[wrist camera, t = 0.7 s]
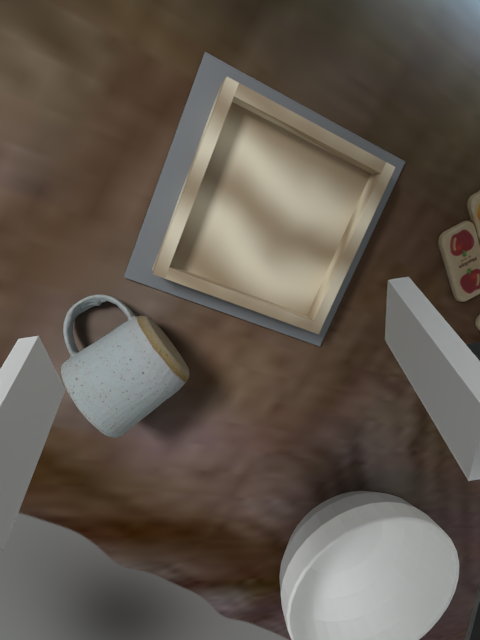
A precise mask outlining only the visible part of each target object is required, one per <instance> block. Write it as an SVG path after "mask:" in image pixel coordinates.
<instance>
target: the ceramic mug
mask: <svg viewBox="0 0 480 640" xmlns="http://www.w3.org/2000/svg"><path fill="white" fill-rule="evenodd" d="M106 301H109V302H111V303H113V304H116V305H117V306H118V307H119V308H120V309H121V310H122V311H123V312H124V313H125V314H126V315H127V317H128V321H126V322H125V323H123V324H122V325H120V326H119V327H117V328H116V329H114V330H113V331H111V332H110V333H109V334H107V335H106V336H104V337H102V338H101V339H99V340H97V341H96V342H94V343H93V344H91V345H89V346H88V347H86V348H85V349H83V350H82V351H80V352H79V351H78V349H77V347H76V344H75V342H74V337H73V323H74V320H75V318H76V317H77V316H78V315H79V314H80V313H82V312H84V311H86V310H87V309H89V308H91V307H93V306H100V305H101V304H102V302H106ZM63 328H64V330H63V333H64V339H65V343H66V346H67V349H68V351H69V353H70V355H71V357H70V358H69V359H68V360H67V361H65V362H64V363H63V364H62V367H61V375H62V379H63V382H64V384H65V387H66V389H67V391H68V393H69V395H70V396H71V398H72V399H73V401H74V403H75V405H76V406H77V407H78V409H79V410H80V412H81V413H82V414H83V415H84V416H85V417H86V419H87V420H88V421H89V422H90V423H91V424H92V425H94V426H95V427H96V428H97V429H98V430H99V431H100V432H102V433H103V434H105V435H107V436H109V437H113V438H117V437H120V436H122V435H123V434H124V433H125V432H127V431H128V430H129V429H130V428H132V427H133V426H134V425H135V424H137V423H138V422H139V421H140V420H142V419H143V418H144V417H146V416H147V415H148V414H149V413H151V412H152V411H153V410H154V409H155V408H157V407H158V406H159V405H161V404H162V403H163V402H164V401H165V400H167V399H168V398H170V397H171V396H172V395H173V394H175V393H176V392H177V391H178V390H179V389H180V388H181V387H182V386H183V385H184V384H185V383H186V382H187V380H188V378H189V369H188V367H187V365H186V363H185V361H184V360H183V358H182V357H181V355H180V354H179V352H178V351H177V349H176V348H175V346H174V345H173V344H172V342H171V341H170V340H169V338H168V337H167V336H166V334H165V333H164V332H163V331H162V330H161V328H160V327H159V326H158V325H157V324H156V323H155V322H154V321H153V320H152V319H151V318H149V317H147V316H138V317H135V316H134V314H133V313H132V311H131V310H130V309H129V308H128V307H127V306H126V305H125V304H124V303H122V302H121V301H120V300H118V299H116V298H114V297H111V296H108V295H92V296H88V297H86V298H84V299H82V300H80V301H78V302H77V303H76V304H75V305H73V306H72V307H71V308H70V309H69V311H68V313H67V314H66V317H65V321H64V326H63Z"/></svg>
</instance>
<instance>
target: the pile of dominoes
mask: <svg viewBox="0 0 480 640" xmlns="http://www.w3.org/2000/svg"><path fill="white" fill-rule="evenodd" d="M467 208H468V212H469V215H470V221H463V222H461V223H459V224H457V225H455V226H453V227H451V228H450V229H448V230H446V231H444V232H443V233H442V234H441V235H440V237H439V240H438V245H439V248H440V252H441V255H442V258H443V262H444V265H445V268H446V272H447V275H448V279H449V282H450V285H451V289H452V292H453V295H454V298H455V299H456V300H457V301H460V302H465V301H467V300H469V299H471V298H473V297H475V296H476V295H478V294H480V191H478V192H476V193H475V194H473V195H471V196H470V198H469V199H468V202H467ZM475 326H476V328H477V329H478V330H479V331H480V314H479V315H478V317H477V318H476V321H475Z"/></svg>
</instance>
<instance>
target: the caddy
mask: <svg viewBox="0 0 480 640" xmlns="http://www.w3.org/2000/svg"><path fill="white" fill-rule="evenodd" d="M394 169H395V166H393V165H391V164H389V163H387V162H385V161H383V160H381V159H380V158H378V157H376V156H374V155H372V154H370V153H368V152H367V151H365V150H363V149H361V148H359V147H357V146H355V145H354V144H352V143H350V142H348V141H346V140H344V139H342V138H341V137H339V136H337V135H335V134H333V133H331V132H329V131H328V130H326V129H324V128H322V127H320V126H318V125H316V124H315V123H313V122H311V121H309V120H307V119H305V118H303V117H302V116H300V115H298V114H296V113H294V112H292V111H290V110H289V109H287V108H285V107H283V106H281V105H279V104H277V103H276V102H274V101H272V100H270V99H268V98H266V97H264V96H262V95H261V94H259V93H257V92H255V91H253V90H251V89H249V88H248V87H246V86H244V85H242V84H240V83H238V82H236V81H235V80H233V79H231V78H229V77H226V78H225V80H224V81H223V82H222V83H221V86H220V88H219V91H218V94H217V96H216V99H215V102H214V104H213V107H212V110H211V113H210V115H209V118H208V121H207V123H206V126H205V129H204V131H203V134H202V137H201V139H200V142H199V145H198V148H197V150H196V153H195V156H194V158H193V161H192V164H191V166H190V169H189V172H188V174H187V177H186V180H185V183H184V185H183V188H182V191H181V193H180V196H179V199H178V201H177V204H176V207H175V209H174V212H173V215H172V217H171V220H170V223H169V226H168V228H167V231H166V234H165V236H164V239H163V242H162V244H161V247H160V250H159V252H158V255H157V258H156V261H155V263H154V266H153V269H152V271H153V274H154V275H156V276H159V277H162V278H165V279H167V280H170V281H173V282H176V283H178V284H181V285H184V286H187V287H189V288H192V289H195V290H198V291H201V292H203V293H206V294H209V295H212V296H214V297H217V298H220V299H223V300H225V301H228V302H231V303H234V304H236V305H239V306H242V307H245V308H247V309H250V310H253V311H256V312H258V313H261V314H264V315H267V316H269V317H272V318H275V319H278V320H280V321H283V322H286V323H289V324H291V325H294V326H297V327H300V328H302V329H305V330H308V331H311V332H313V333H316V334H319V332H320V330H321V328H322V326H323V324H324V321H325V319H326V317H327V315H328V313H329V311H330V308H331V306H332V304H333V302H334V300H335V297H336V295H337V293H338V291H339V289H340V287H341V284H342V282H343V280H344V278H345V276H346V274H347V271H348V269H349V267H350V265H351V263H352V261H353V258H354V256H355V254H356V252H357V250H358V248H359V245H360V243H361V241H362V239H363V237H364V235H365V232H366V230H367V228H368V226H369V224H370V221H371V219H372V217H373V215H374V213H375V211H376V208H377V206H378V204H379V202H380V200H381V198H382V195H383V193H384V191H385V189H386V187H387V185H388V182H389V180H390V178H391V176H392V174H393V172H394Z"/></svg>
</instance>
